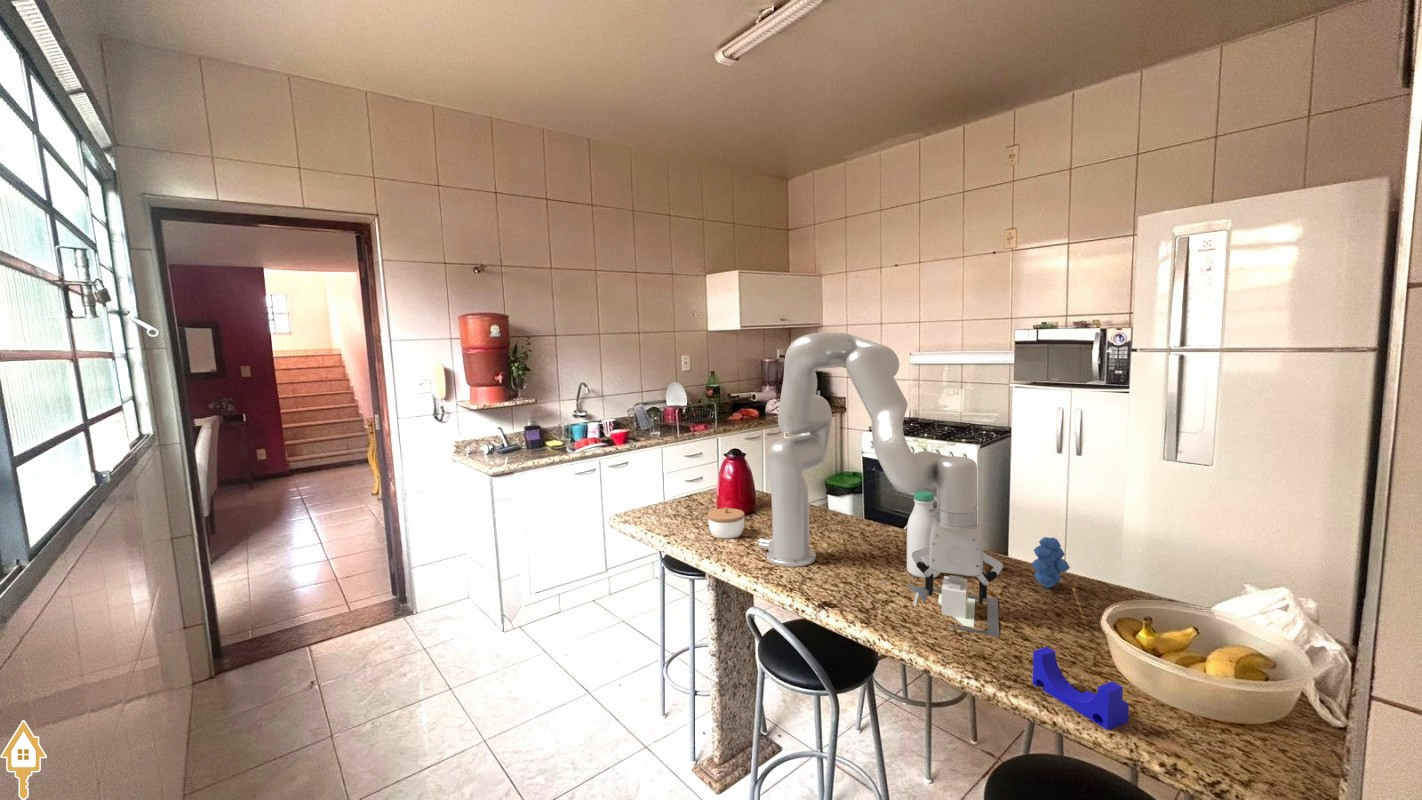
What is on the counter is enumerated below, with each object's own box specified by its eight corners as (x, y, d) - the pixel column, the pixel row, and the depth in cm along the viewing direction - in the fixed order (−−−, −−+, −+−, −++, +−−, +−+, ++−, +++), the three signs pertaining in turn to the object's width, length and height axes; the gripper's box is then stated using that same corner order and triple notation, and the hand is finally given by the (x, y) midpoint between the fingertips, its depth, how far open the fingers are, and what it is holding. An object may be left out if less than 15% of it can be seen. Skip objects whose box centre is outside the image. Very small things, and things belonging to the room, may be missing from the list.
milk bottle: (943, 580, 133) (944, 497, 131) (909, 578, 134) (909, 496, 132) (937, 567, 140) (937, 488, 138) (904, 565, 142) (904, 488, 140)
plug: (941, 614, 116) (941, 585, 115) (944, 600, 122) (944, 572, 121) (966, 619, 114) (966, 589, 113) (967, 604, 120) (968, 576, 119)
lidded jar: (744, 545, 160) (743, 513, 159) (707, 545, 161) (706, 513, 160) (745, 532, 171) (744, 502, 170) (710, 533, 172) (709, 503, 171)
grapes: (1057, 601, 120) (1058, 547, 119) (1024, 591, 126) (1025, 539, 124) (1080, 586, 127) (1081, 534, 126) (1048, 577, 132) (1049, 527, 131)
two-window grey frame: (831, 607, 121) (831, 605, 121) (849, 577, 136) (849, 575, 136) (999, 637, 107) (999, 634, 107) (997, 599, 122) (997, 597, 122)
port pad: (934, 621, 113) (934, 620, 113) (939, 594, 125) (939, 593, 125) (973, 628, 110) (973, 627, 110) (975, 600, 122) (975, 599, 122)
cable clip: (1128, 723, 82) (1129, 684, 82) (1107, 731, 81) (1108, 692, 80) (1052, 679, 94) (1053, 644, 93) (1032, 685, 92) (1033, 650, 91)
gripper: (909, 518, 116) (909, 597, 118) (1004, 527, 109) (1002, 612, 110) (914, 508, 123) (913, 583, 125) (1003, 516, 115) (1001, 596, 117)
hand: (955, 597), depth 118 cm, fingers open, 9 cm apart
